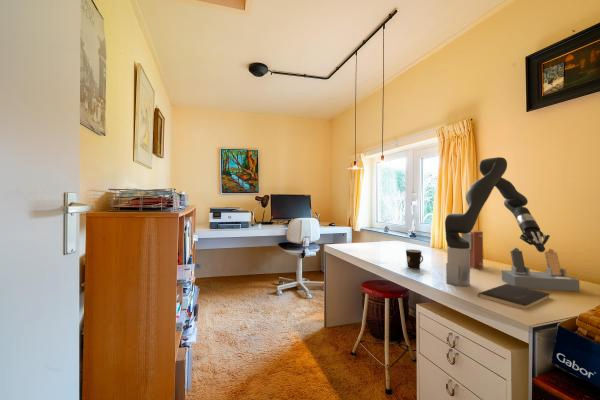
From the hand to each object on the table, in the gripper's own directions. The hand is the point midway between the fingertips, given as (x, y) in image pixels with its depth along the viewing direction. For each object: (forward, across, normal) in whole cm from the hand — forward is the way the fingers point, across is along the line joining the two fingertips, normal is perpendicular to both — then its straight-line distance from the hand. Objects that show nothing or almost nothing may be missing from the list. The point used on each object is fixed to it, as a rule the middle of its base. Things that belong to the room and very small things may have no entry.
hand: (542, 251), depth 134 cm
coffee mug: (+1, -57, +20) cm, 60 cm away
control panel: (-8, -22, +29) cm, 37 cm away
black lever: (+13, -14, 0) cm, 19 cm away
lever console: (+17, -7, +4) cm, 19 cm away
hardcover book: (+31, -26, -10) cm, 42 cm away
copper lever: (+13, 0, 0) cm, 13 cm away
